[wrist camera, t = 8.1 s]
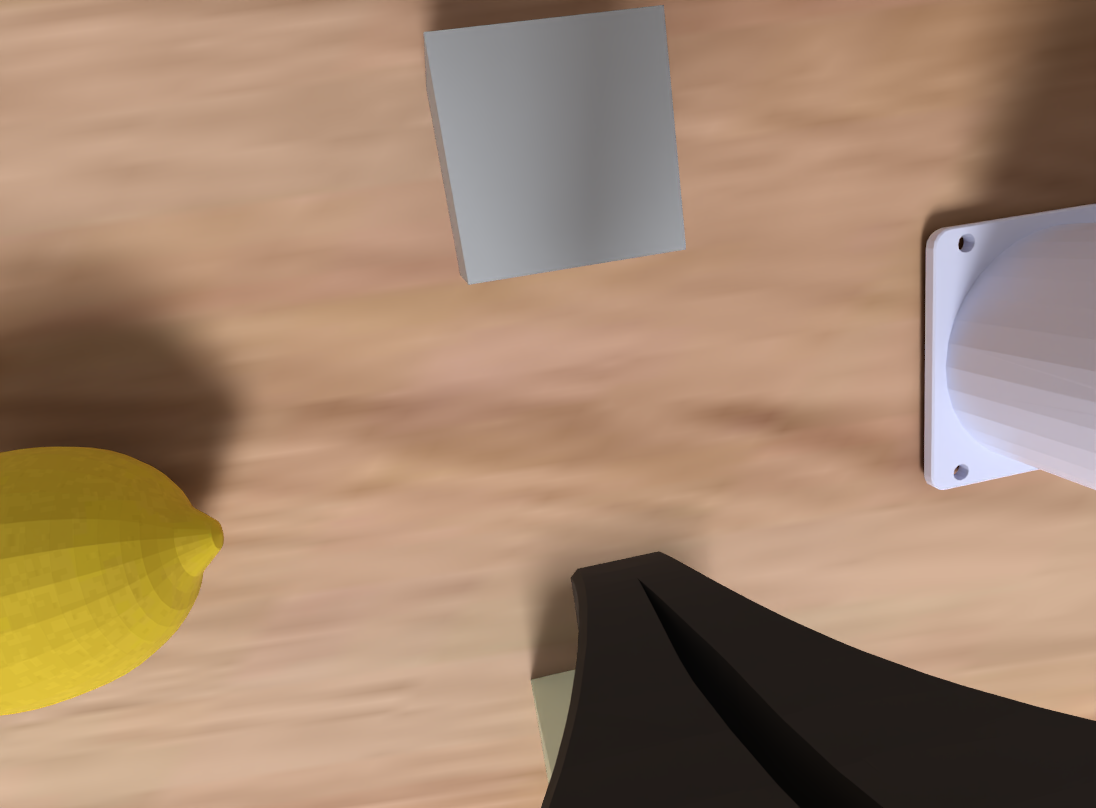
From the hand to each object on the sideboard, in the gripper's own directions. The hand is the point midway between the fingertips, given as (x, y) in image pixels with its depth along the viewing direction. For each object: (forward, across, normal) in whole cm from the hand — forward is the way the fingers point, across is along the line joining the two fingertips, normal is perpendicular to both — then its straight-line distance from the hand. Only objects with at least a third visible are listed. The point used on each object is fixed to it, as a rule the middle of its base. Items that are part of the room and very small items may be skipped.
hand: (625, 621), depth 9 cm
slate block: (+10, -1, -7) cm, 12 cm away
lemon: (+7, +7, 0) cm, 10 cm away
